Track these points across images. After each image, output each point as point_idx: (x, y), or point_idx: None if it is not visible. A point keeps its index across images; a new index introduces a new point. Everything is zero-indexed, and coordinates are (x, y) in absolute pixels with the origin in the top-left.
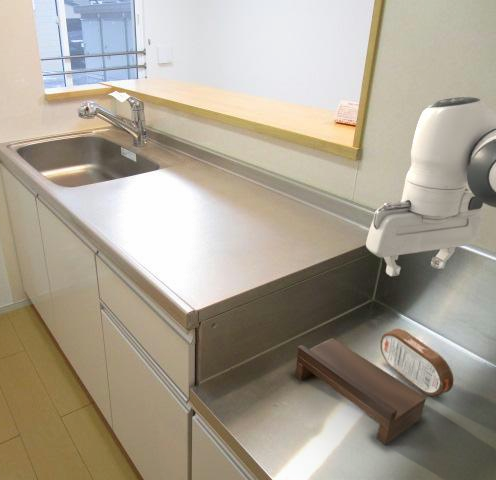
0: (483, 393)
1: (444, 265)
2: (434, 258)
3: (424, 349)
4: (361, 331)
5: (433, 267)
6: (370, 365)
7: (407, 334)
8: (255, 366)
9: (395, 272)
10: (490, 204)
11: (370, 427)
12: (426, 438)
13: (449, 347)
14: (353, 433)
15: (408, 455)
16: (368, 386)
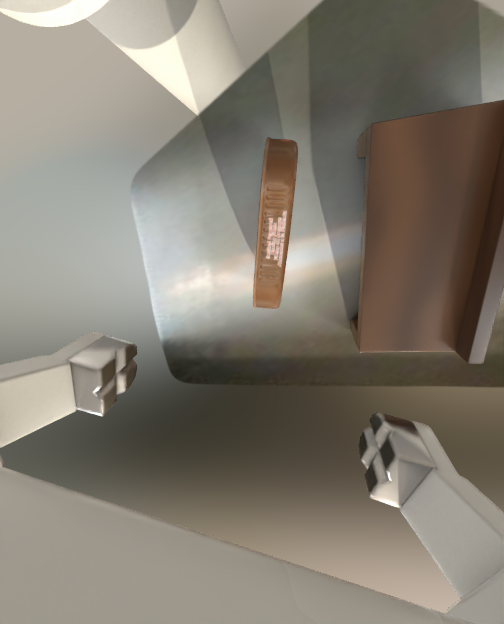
0: (194, 134)
1: (82, 339)
2: (99, 403)
3: (272, 217)
4: (247, 347)
5: (134, 362)
6: (373, 260)
7: (259, 273)
8: (477, 374)
9: (418, 437)
10: None
11: None
12: (395, 93)
13: (149, 250)
14: None
15: (471, 73)
16: (443, 214)
